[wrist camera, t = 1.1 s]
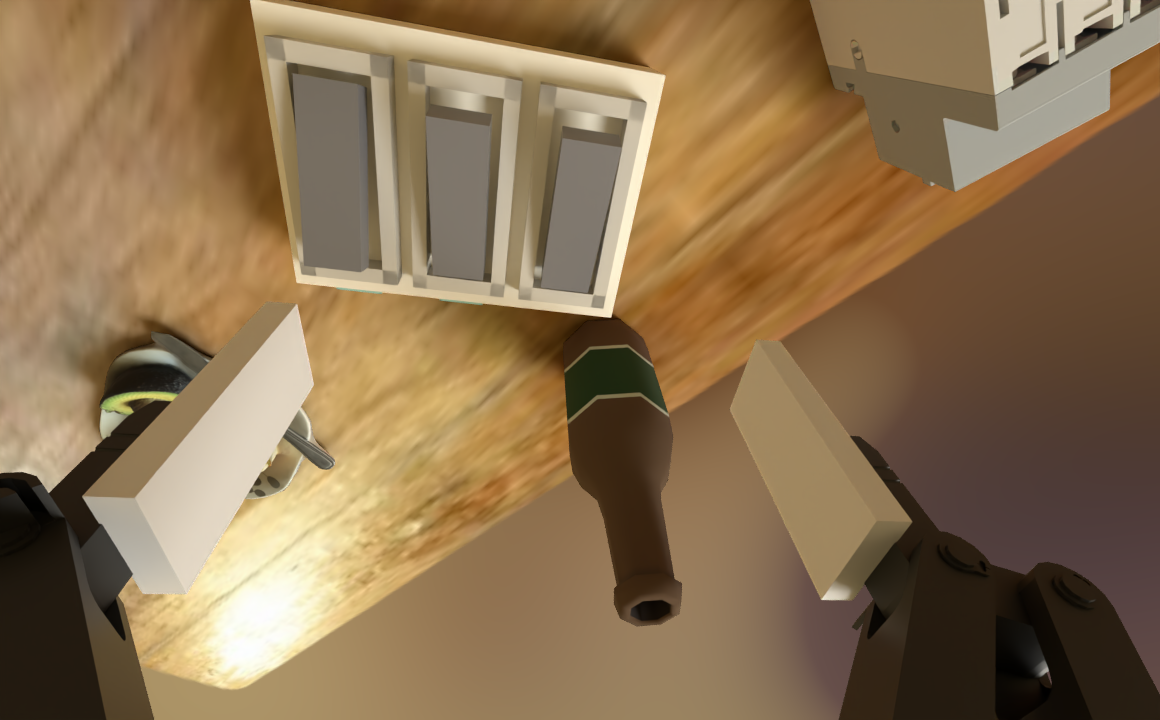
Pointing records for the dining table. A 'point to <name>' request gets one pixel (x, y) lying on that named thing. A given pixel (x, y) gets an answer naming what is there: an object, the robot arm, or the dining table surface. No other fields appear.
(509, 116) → the console
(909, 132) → the circuit breaker
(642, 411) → the beer bottle
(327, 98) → the rocker
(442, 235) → the block
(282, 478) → the salad plate
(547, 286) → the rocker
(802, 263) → the dining table surface
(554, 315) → the dining table surface
